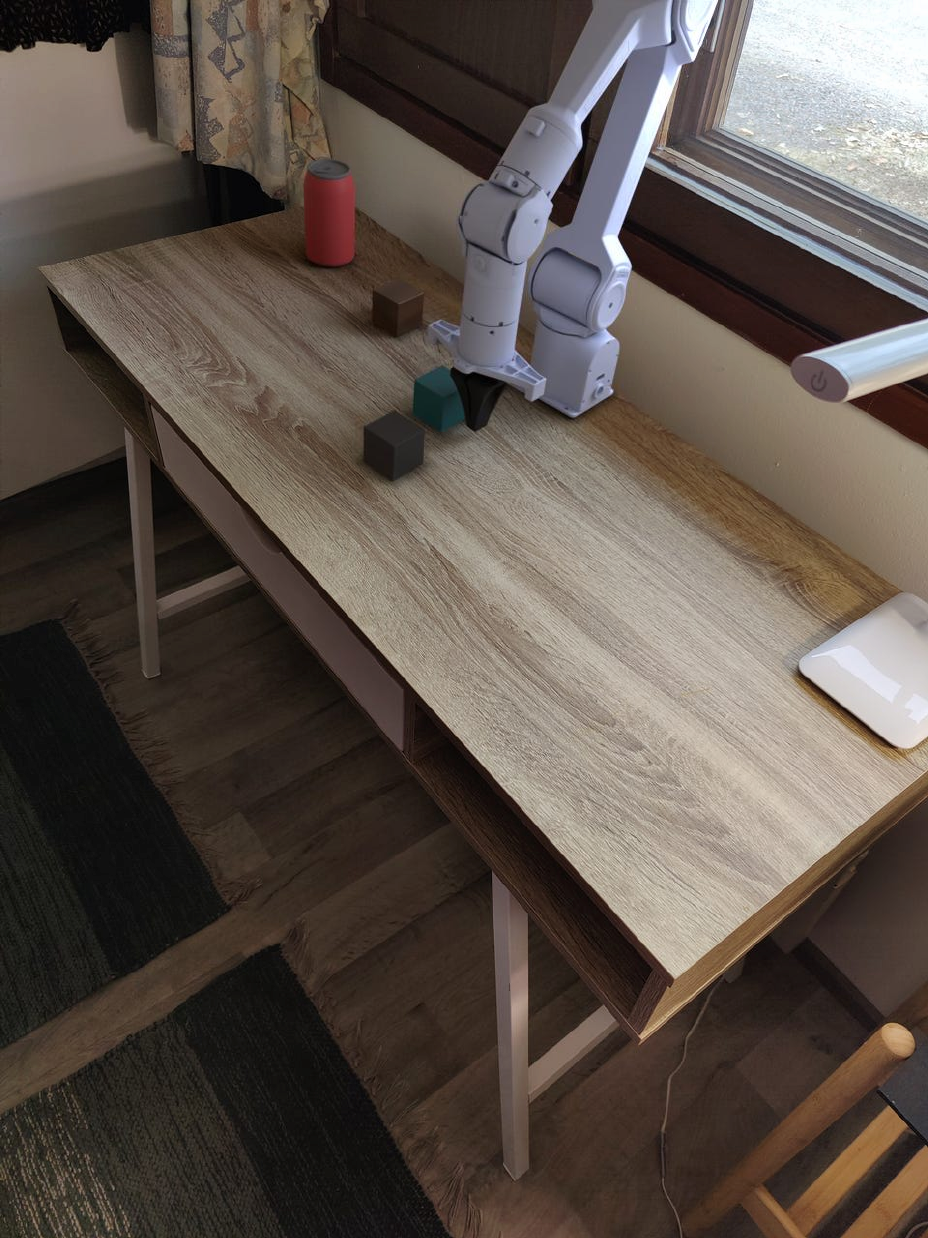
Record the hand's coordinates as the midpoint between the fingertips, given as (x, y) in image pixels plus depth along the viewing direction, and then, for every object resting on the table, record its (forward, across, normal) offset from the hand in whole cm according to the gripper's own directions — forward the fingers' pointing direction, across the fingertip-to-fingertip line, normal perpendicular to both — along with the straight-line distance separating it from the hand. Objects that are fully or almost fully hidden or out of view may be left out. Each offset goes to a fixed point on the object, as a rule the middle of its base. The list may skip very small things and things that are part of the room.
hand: (476, 425), depth 104 cm
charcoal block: (+2, -3, -10) cm, 11 cm away
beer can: (+2, -40, +15) cm, 43 cm away
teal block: (+2, -5, 0) cm, 6 cm away
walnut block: (+2, -22, +10) cm, 25 cm away
